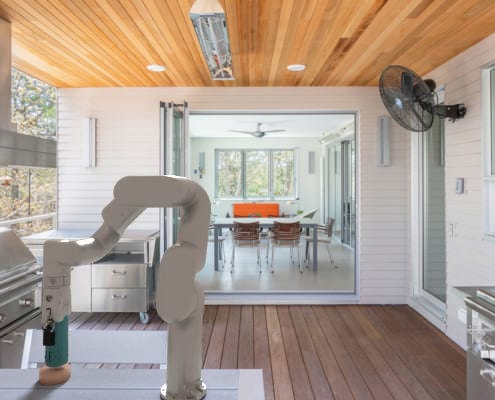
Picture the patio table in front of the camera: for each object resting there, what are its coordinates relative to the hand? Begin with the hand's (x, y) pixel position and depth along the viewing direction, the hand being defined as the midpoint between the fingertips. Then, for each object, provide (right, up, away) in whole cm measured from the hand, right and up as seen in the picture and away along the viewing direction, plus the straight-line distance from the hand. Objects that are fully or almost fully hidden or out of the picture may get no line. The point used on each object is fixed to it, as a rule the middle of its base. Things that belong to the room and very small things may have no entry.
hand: (55, 339), depth 119 cm
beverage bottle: (0, -9, 0) cm, 9 cm away
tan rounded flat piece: (0, -12, 0) cm, 12 cm away
